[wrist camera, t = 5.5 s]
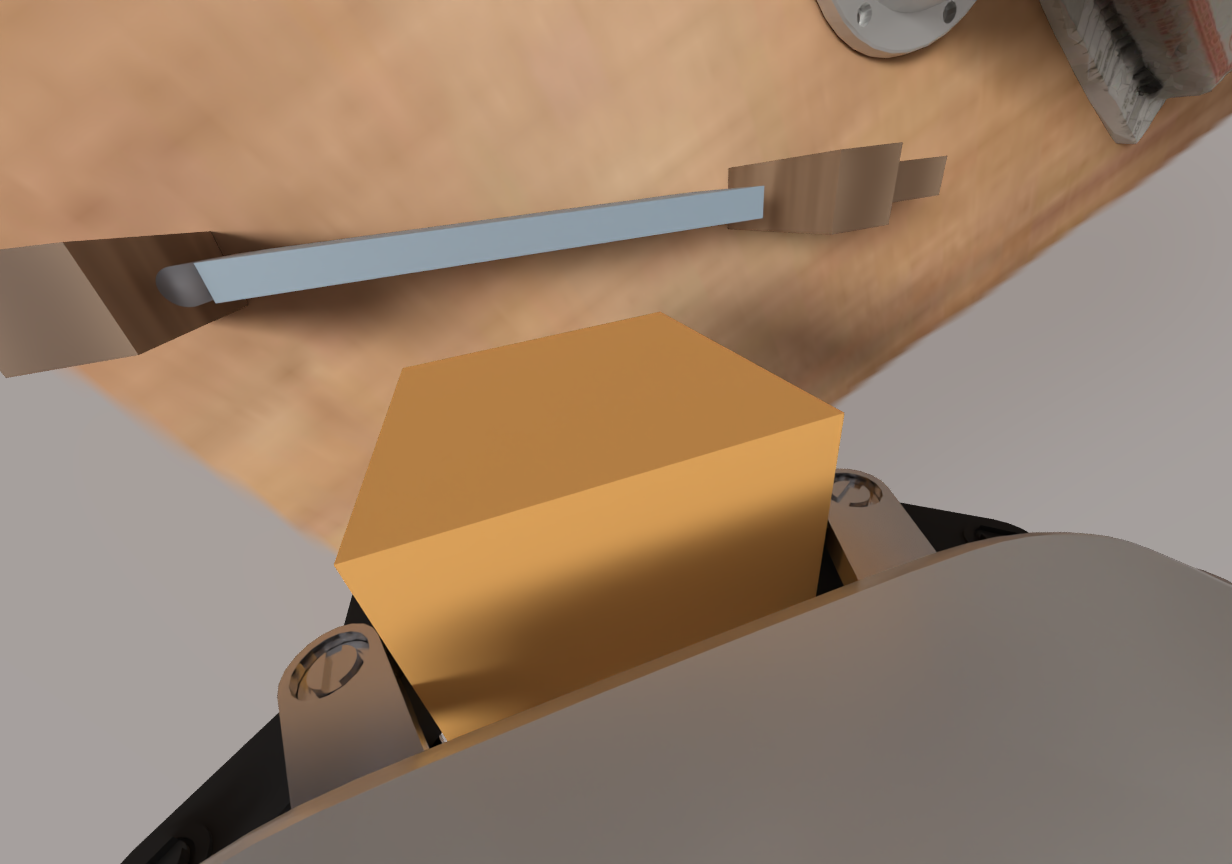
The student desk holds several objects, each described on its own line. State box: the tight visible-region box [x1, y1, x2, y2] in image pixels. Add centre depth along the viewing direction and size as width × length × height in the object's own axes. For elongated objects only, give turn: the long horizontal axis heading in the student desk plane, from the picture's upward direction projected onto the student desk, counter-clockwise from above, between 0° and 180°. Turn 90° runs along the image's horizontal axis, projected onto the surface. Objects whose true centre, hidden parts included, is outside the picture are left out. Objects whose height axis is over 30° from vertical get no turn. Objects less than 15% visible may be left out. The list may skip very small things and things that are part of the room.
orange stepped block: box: [334, 312, 844, 741], centre depth 10 cm, size 11×6×6 cm, turn 8°
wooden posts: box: [0, 142, 947, 378], centre depth 18 cm, size 35×3×8 cm, turn 96°
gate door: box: [156, 186, 764, 307], centre depth 18 cm, size 21×1×6 cm, turn 96°
